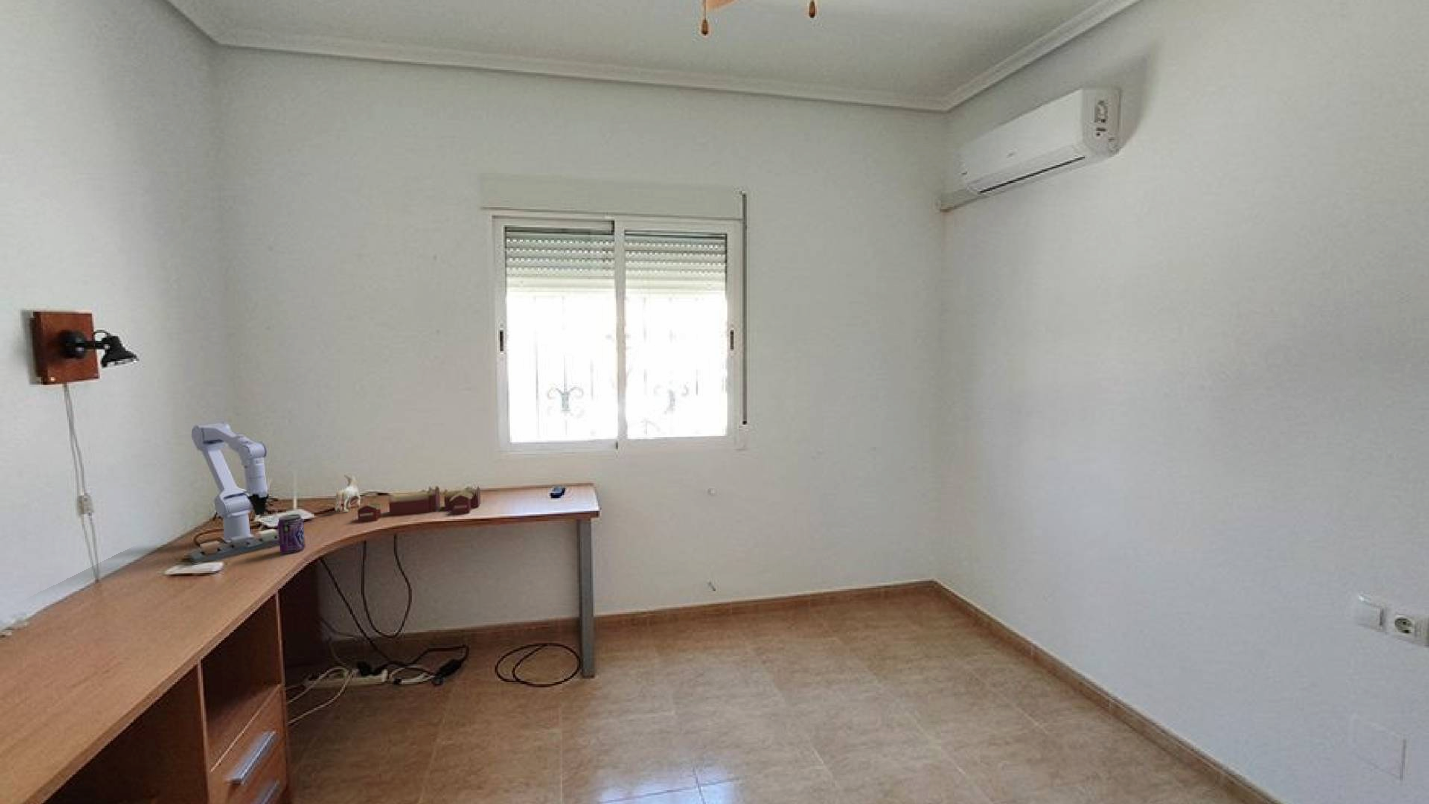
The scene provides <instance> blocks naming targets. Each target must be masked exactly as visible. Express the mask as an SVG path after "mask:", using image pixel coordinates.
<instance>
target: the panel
mask: <svg viewBox="0 0 1429 804" xmlns="http://www.w3.org/2000/svg"><path fill="white" fill-rule="evenodd" d="M274 537H275V539H273V540H268V541H264V542H263V541H262V537H261V536H258V537H253V538H249V540H246V541H247V545H246V546H241V547H237V548H234V543H233V542H229V543H226V544H222V545H221V544H220V546H218V547H217V551H218V552H214V553H210V554H204V550H203V549H198V550H194V551H190V552H188V553H187V554H188V559H189V560H190V559H191V560H190V561H191V562H192V563H193V562H194V563H198V562H205V563H209V562H213V560H214V561H218V560H223V559H226V557H227V558H231V557H236V556H240V555H243V553H244V554H249V553H252V552H253V553H254V552H257V551H262V550H266V549H270V548H274V547H275V548H276V547H278V546H279V547H280V544H279V534H278V532H277V534H274ZM265 548H266V549H265ZM230 556H231V557H230ZM217 559H218V560H217ZM194 563H193V564H194Z"/></svg>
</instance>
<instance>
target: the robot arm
mask: <svg viewBox="0 0 1429 804" xmlns="http://www.w3.org/2000/svg"><path fill="white" fill-rule="evenodd" d="M230 427H231V426H230V425H229V424H228V423H227V422H225V421H223V422H219V423H210V424H209V423H208V424H200V425H199V424H196V425H194V426H193V427H192V429H191V439H192V442H193V444H194V446H195V448H196V450H197V451H200V452H201V453H202V455H203V457H204V460H205V461H206V464H207V466H208V468H209V471H210V472H211V475H212V478H213V480H214V482H215V484H216V487H217V489H218V491H219V493H218V494H217V495H216V496H215V498H214V499H213V502H214V506H215V507H214V508H215V511H216V513H217V515H218V516H220V518H222V526H223V535H224V536H221V538H220V539H222V540H223V541H224V542H226V544H230V543H232V542H231V541H230V538H232V537H237V536H241V535H247V536H249V539H253V538H255V535H253V534H252V533H251V529H250V520H249V514H250V513H251V511H252V509H253V511H254V514H255V515H256V516H262V515H264V514H265V509H266V504H267V500H268V499H269V496H270V495H269V494H268V493H267V491H268V490H269V489H268V485H267V476H266V468H265V458H266V457H267V453H268V450H267V446H266V445H265V444H264V443H263V442H262V441H259V442H258V441H257V442H254V441H253V440H251V439H249V438H247V437H246V436H245V435H244V434H235V433H234V432H233V431H232V430H231V428H230ZM227 444H228V448H229V449H231V450H232V451H234V452H236V453H237V454H238V456H239V459H240V461H241V464H242V466H243V468H244V477H245V484H246V488H245V489H244V488H241V487H238V486H237V484H236V482H235V479H234V478H233V476H232V473H231V471H230V468H229V467H228V464H227V462H226V459H225V457H224V455H223V453H222V451H221V450H222V449H223V448H225V447H226V446H227ZM250 494H251V495H250Z"/></svg>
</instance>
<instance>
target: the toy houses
mask: <svg viewBox="0 0 1429 804" xmlns="http://www.w3.org/2000/svg"><path fill="white" fill-rule="evenodd" d="M443 501H444V503H443V504H444V511H445V512H446V511H453V513H452V514H453V515H463V514H470V513H471V511H472V509H478V508H479V507H480V505H481V503H482V501H481V489H480V487H479V486H474V487H471V486H470V487H462V488H461V487H460V488H457V487H455V488H450V489H449V488H448V489H447V488H446V489H444V494H443ZM388 507H389V516H390V517H393V516H405V515H416V514H417V515H418V514H425V513H426V514H428V513H436V512H438V511H439V509H440V508H441V494H440V487H439V486H436V485H435V486H433V485H432V486H429V489H428V490H426V489H425V490H424V489H422V490H421V491H417V492H409V493H408V492H406V493H403V494H402V493H394V494H390V496H389V499H388ZM381 508H383V505H382V504H379V503H376V502H374V501H369V502H367V503H366V504H363V505H361V506H359V507H357V509H356V510H355V512H357V522H358V523H365V522H377V521H378V520H379V519H381V517H382V514H381Z"/></svg>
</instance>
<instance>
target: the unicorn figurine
mask: <svg viewBox="0 0 1429 804" xmlns="http://www.w3.org/2000/svg"><path fill="white" fill-rule="evenodd" d="M343 476H344V477H345V478H346V479H347V482H348V484H347V486H346V487H345V488H342V489H340V490H338V491H337V492H336V495H335V502H334V505H333V508H334V510H335V511H336V512H337V511H338V512H344V513H349V512H350V511H349V508H350V509H351V507H352V505H351V501H352V498H354V497H357V501H356V507H357V508H360V507H361V496H360V494H359V489H358V487H357V479H356V477H355V476H354V475H353V476H352V475H350V476H347V475H345V474H344V475H343ZM342 500H343V506H342Z"/></svg>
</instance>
